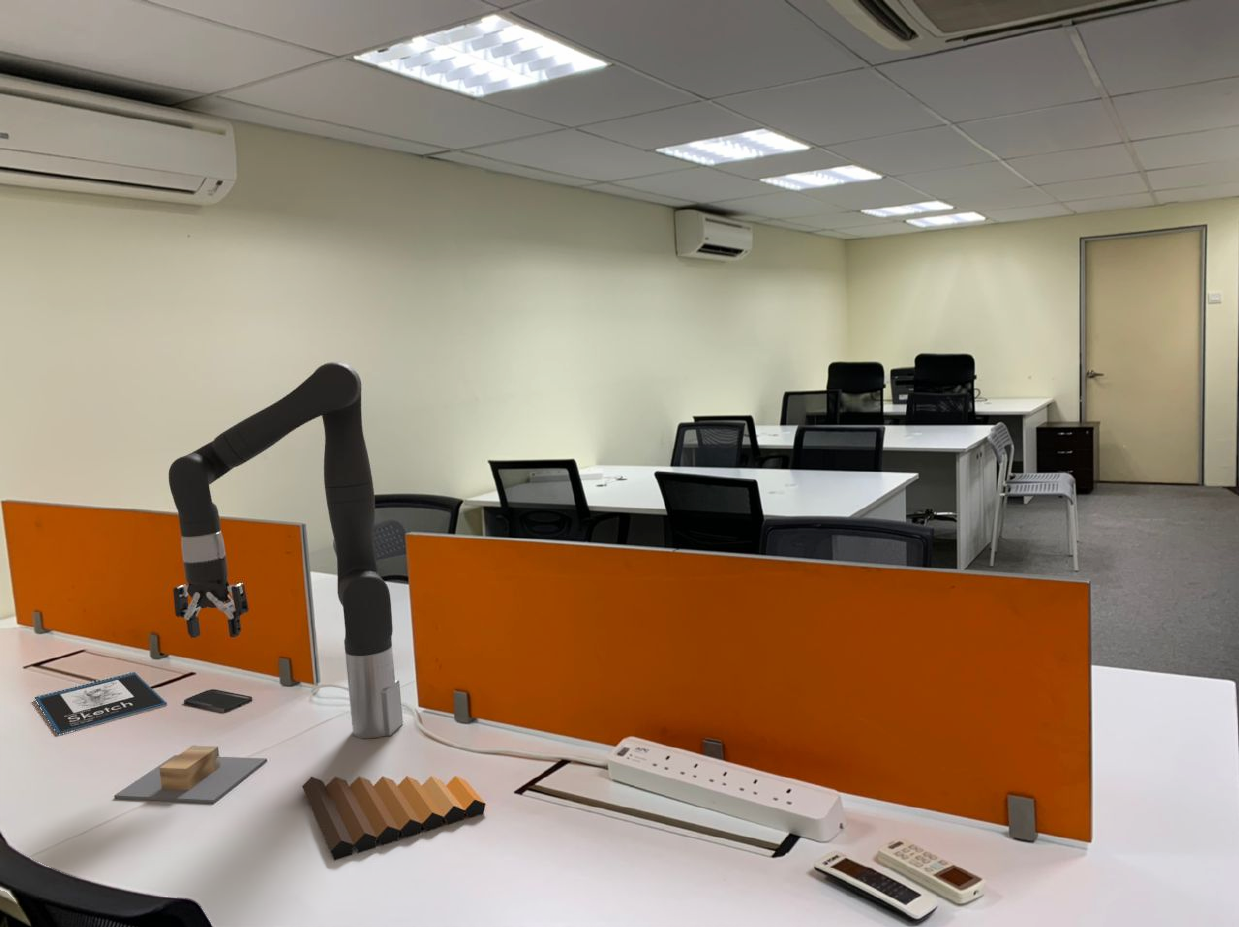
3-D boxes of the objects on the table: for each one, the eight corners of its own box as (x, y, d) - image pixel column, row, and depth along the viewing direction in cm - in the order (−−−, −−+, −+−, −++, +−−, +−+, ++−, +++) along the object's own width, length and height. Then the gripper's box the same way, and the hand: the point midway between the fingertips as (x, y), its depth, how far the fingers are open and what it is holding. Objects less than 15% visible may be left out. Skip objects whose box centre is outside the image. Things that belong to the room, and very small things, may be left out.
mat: (267, 761, 170) (266, 758, 170) (214, 803, 154) (213, 800, 154) (175, 757, 174) (174, 754, 174) (114, 798, 158) (114, 795, 158)
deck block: (189, 790, 159) (186, 768, 158) (161, 788, 160) (159, 767, 159) (220, 766, 167) (218, 746, 167) (194, 765, 168) (192, 745, 168)
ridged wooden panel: (302, 797, 156) (331, 864, 134) (301, 779, 156) (329, 843, 134) (440, 759, 168) (486, 815, 146) (438, 742, 167) (485, 796, 146)
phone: (211, 688, 209) (254, 697, 202) (211, 693, 210) (254, 701, 202) (181, 700, 203) (224, 709, 195) (181, 705, 203) (225, 714, 196)
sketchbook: (58, 739, 188) (57, 730, 188) (34, 702, 211) (33, 694, 210) (167, 707, 202) (166, 699, 202) (134, 676, 225) (133, 668, 224)
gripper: (158, 562, 169) (170, 643, 171) (226, 559, 167) (237, 642, 169) (183, 552, 176) (194, 631, 179) (248, 550, 174) (259, 629, 176)
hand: (215, 636), depth 174 cm, fingers open, 8 cm apart
